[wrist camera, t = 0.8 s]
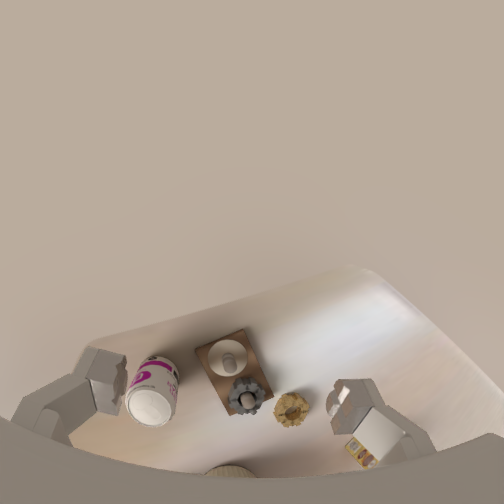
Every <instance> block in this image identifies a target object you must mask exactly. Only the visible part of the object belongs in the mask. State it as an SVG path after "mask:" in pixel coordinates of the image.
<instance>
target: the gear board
mask: <svg viewBox="0 0 504 504" xmlns="http://www.w3.org/2000/svg"><path fill="white" fill-rule="evenodd" d="M195 351H196V353H197V355H198V357H199V359H200V361H201V363H202V365H203V367H204V369H205V371H206V373H207V375H208V377H209V379H210V381H211V383H212V384H213V386H214V388H215V390H216V392H217V394H218V396H219V397H220V399H221V401H222V403H223V405H224V407H225V408H226V410H227V412H228V414H229V415H230V416H231V415H233V414H236V413H237V411H235V409H234V408H232V409H231V408H230V406H229V404H228V400H227V398H228V397H229V396H228V393H229V391H230V388H231V386H232V384H233V383H234V382H236V381H235V379H237V378H241V379H244V378H246V379H248V378H249V377H252V378H254V379H255V381H256V382H257V383H258V384H260V383H261V385H262V387H263V389H264V391H265V393H266V394H264V395H263V396H264V400H263V402H264V401H266V400H269V399H271V398H273V397H274V395H273V393H272V391H271V389H270V387H269V384H268V382H267V380H266V378H265V376H264V374H263V372H262V369H261V367H260V365H259V363H258V361H257V358H256V356H255V354H254V352H253V350H252V347H251V345H250V343H249V341H248V339H247V336H246V334H245V332H244V330H243V329H241V330H239V331H237V332H234V333H232V334H230V335H227V336H225V337H223V338H220V339H218V340H216V341H213V342H211V343H208V344H206V345H204V346H201V347H199V348H196V349H195ZM253 394H254V392H250V391H245V392H243V393H240V395H239V397H238V399H239V400H241V402H242V405H243V407H244V408H245V409H251V408H253V407H254V406H255V400H254V398H253Z"/></svg>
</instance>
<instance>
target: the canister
mask: <svg viewBox="0 0 504 504" xmlns="http://www.w3.org/2000/svg"><path fill="white" fill-rule="evenodd" d="M205 475H208V476H220V477H237V478H256V477H255V476H254V474H252V473H251V472H250V471H248V470H247V469H244V468H243V467H239V466H231V465H230V466H221V467H217V468H214V469H212V470H210V471H209V472H207V473H206V474H205Z"/></svg>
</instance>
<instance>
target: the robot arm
mask: <svg viewBox="0 0 504 504" xmlns="http://www.w3.org/2000/svg"><path fill="white" fill-rule="evenodd" d="M126 363H127V361H126V356H125V355H121V354H117V353H113V352H110V351H106V350H102V349H97V348H94V347H90V346H88V347H87V348H86V349H85V350H84V352H83V354H82V356H81V358H80V360H79V362H78V364H77V366H76V368H75V370H74V372H73V373H72V374H67V375H65V376H63V377H61V378H60V379H57V380H56V381H54V382H52V383H50V384H48V385H46V386H44V387H42V388H40V389H39V390H37V391H35V392H33V393H31V394H29V395H27V396H25V397H23V399H22V401H21V402H20V404H19V406H18V408H17V410H16V412H15V414H14V415H13V417H12V419H11V421H9V420H7V419H5V418H2V417H1V416H0V504H504V438H502V437H500V436H498V435H496V434H494V433H487V434H485V435H482V436H480V437H478V438H475V439H473V440H470V441H467V442H465V443H462V444H459V445H457V446H454V447H451V448H448V449H445V450H442V451H439V452H437V451H436V449H435V447H434V445H433V443H432V441H431V440H430V438H429V436H428V434H427V432H426V431H424V430H423V429H421V428H420V427H418V426H417V425H416V424H414V423H413V422H411V421H410V420H408V419H407V418H406V417H404V416H403V415H401V414H400V413H398V412H397V411H396V410H394V409H393V408H391V407H390V406H389V405H388V406H386V405H385V403H384V401H383V399H382V397H381V395H380V393H379V391H378V389H377V387H376V385H375V383H374V381H373V380H372V379H339V380H337V381H336V383H335V384H334V388H335V390H333V391H332V392H331V393H329V395H328V397H327V401H326V410H327V413H328V415H329V416H331V417H332V420H331V422H330V423H331V426H332V429H333V432H334V435H340V434H352V435H353V436H354V437H355V438H356V439H357V440H358V441H359V442H360V443H361V444H362V445H363V446H364V447H365V448H366V449H367V450H368V451H369V452H370V453H371V454H372V455H373V456H374V457H375V458H376V459H377V460H378V461H379V462H378V463H377V464H376V465H375V466H374V467H373V468H370V469H365V470H359V471H352V472H345V473H338V474H329V475H319V476H307V477H290V478H237V477H220V476H208V475H198V474H189V473H181V472H174V471H168V470H162V469H156V468H151V467H145V466H141V465H136V464H131V463H127V462H123V461H119V460H115V459H111V458H107V457H103V456H100V455H96V454H93V453H90V452H86V451H83V450H80V449H77V448H74V447H73V445H72V443H71V441H70V439H69V437H68V435H69V434H70V433H72V432H73V431H74V430H75V429H77V428H78V427H79V426H80V425H82V424H83V423H84V422H85V421H87V420H88V419H89V418H90V417H92V416H93V415H94V414H95V413H96V411H98V412H102V413H106V414H111V415H115V416H118V414H119V411H120V407H121V404H122V400H121V396H123V395H124V394H125V391H126V387H127V378H128V374H127V370H126V369H125V366H126Z"/></svg>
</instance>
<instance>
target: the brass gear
mask: <svg viewBox="0 0 504 504" xmlns="http://www.w3.org/2000/svg"><path fill="white" fill-rule="evenodd" d="M281 397H282V398H280V399H279V400H278V402H277V404H276V406H275V408H274V410H275V412H273V413H274V415H275V417H276V419H277V421H278V422H281V423H282V424H283V426H284V427H289V425H290V426H294V425H296V426H298V425H300V424H301V423H300V422H302V421H304V419H305V417H306V415H307V413H308V408H310V407H309V405H308V403H307V402H306V400H305V399H304V398H301V397H300V395H299V394H298V393H293V395H292V394H289V395H287V394H284V395H282V396H281ZM292 406H297V408H296V410H295V412H293V413H291V414H285V412H286V410H287V409H288V408H290V407H292Z"/></svg>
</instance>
